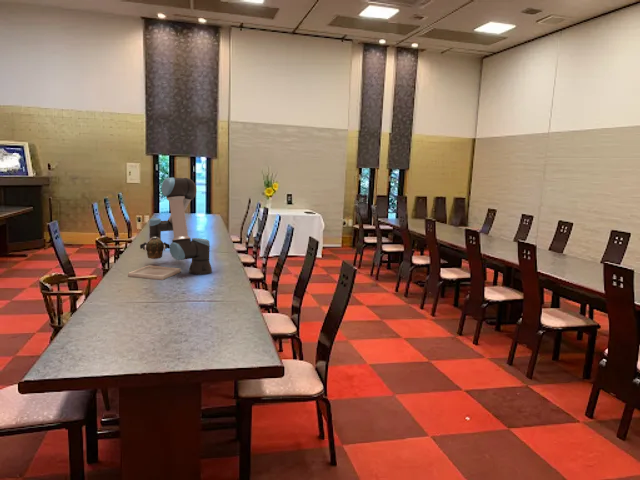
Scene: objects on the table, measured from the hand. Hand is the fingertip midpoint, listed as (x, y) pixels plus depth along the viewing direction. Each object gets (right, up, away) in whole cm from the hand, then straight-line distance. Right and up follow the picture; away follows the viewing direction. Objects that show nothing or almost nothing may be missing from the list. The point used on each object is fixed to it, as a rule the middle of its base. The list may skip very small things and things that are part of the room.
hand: (155, 248), depth 304 cm
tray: (-2, -17, +6) cm, 18 cm away
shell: (-2, -6, +5) cm, 8 cm away
